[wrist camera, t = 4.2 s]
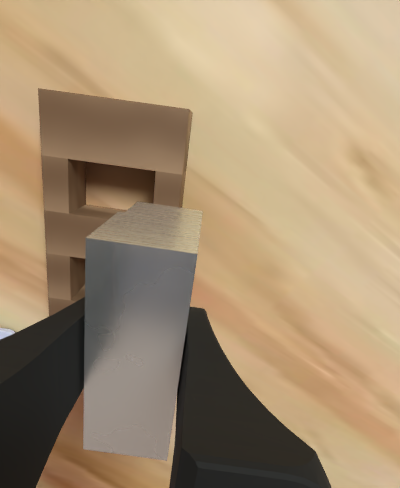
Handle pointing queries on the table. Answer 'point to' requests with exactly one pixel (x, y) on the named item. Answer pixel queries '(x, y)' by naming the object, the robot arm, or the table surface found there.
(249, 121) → the table surface
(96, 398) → the grey arch block
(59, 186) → the walnut mortise block
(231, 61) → the table surface
